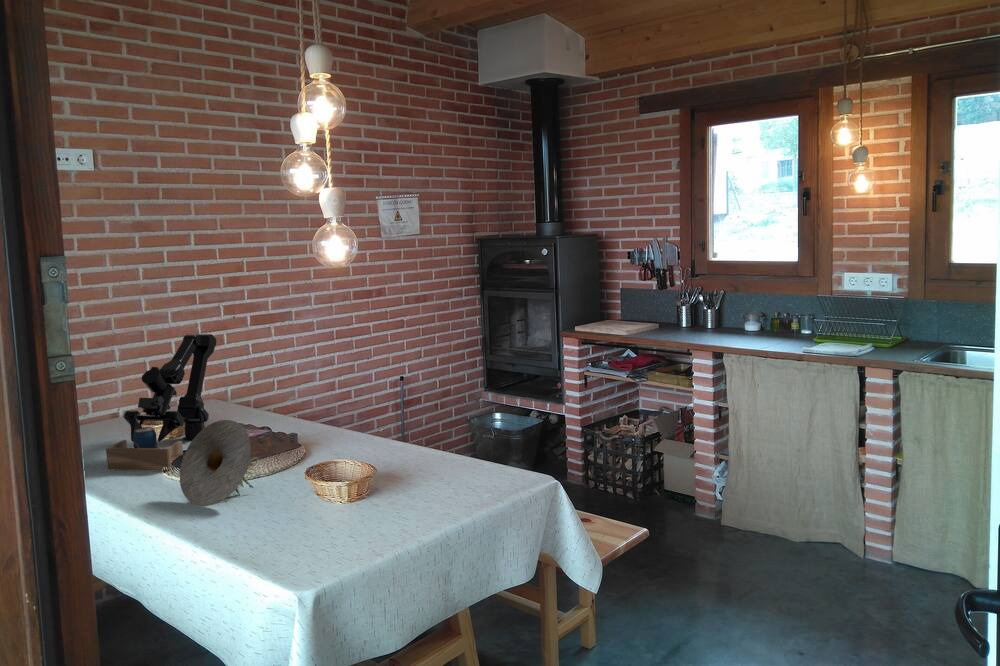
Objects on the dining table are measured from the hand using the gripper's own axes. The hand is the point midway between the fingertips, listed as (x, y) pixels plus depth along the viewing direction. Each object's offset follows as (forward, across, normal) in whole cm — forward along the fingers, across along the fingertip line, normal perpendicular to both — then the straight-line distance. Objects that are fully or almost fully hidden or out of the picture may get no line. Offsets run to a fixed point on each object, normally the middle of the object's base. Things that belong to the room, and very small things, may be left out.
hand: (145, 441), depth 259 cm
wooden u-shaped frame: (+6, 0, +6) cm, 8 cm away
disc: (+23, +39, -11) cm, 47 cm away
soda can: (+6, 0, +6) cm, 8 cm away
